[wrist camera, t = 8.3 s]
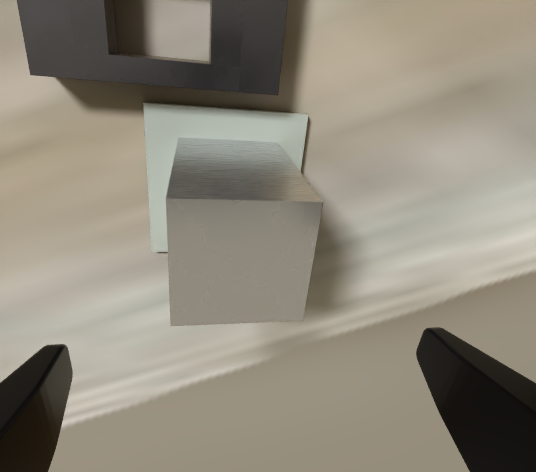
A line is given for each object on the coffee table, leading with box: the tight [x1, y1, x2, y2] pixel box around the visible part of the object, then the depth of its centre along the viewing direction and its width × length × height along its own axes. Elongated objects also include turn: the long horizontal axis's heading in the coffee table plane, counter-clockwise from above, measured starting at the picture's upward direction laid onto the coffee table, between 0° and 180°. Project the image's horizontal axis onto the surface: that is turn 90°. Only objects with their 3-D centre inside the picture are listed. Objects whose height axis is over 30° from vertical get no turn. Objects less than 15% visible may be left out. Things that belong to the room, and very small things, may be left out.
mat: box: [143, 102, 308, 252], centre depth 20 cm, size 8×8×1 cm
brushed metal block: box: [166, 137, 323, 326], centre depth 16 cm, size 5×5×8 cm
